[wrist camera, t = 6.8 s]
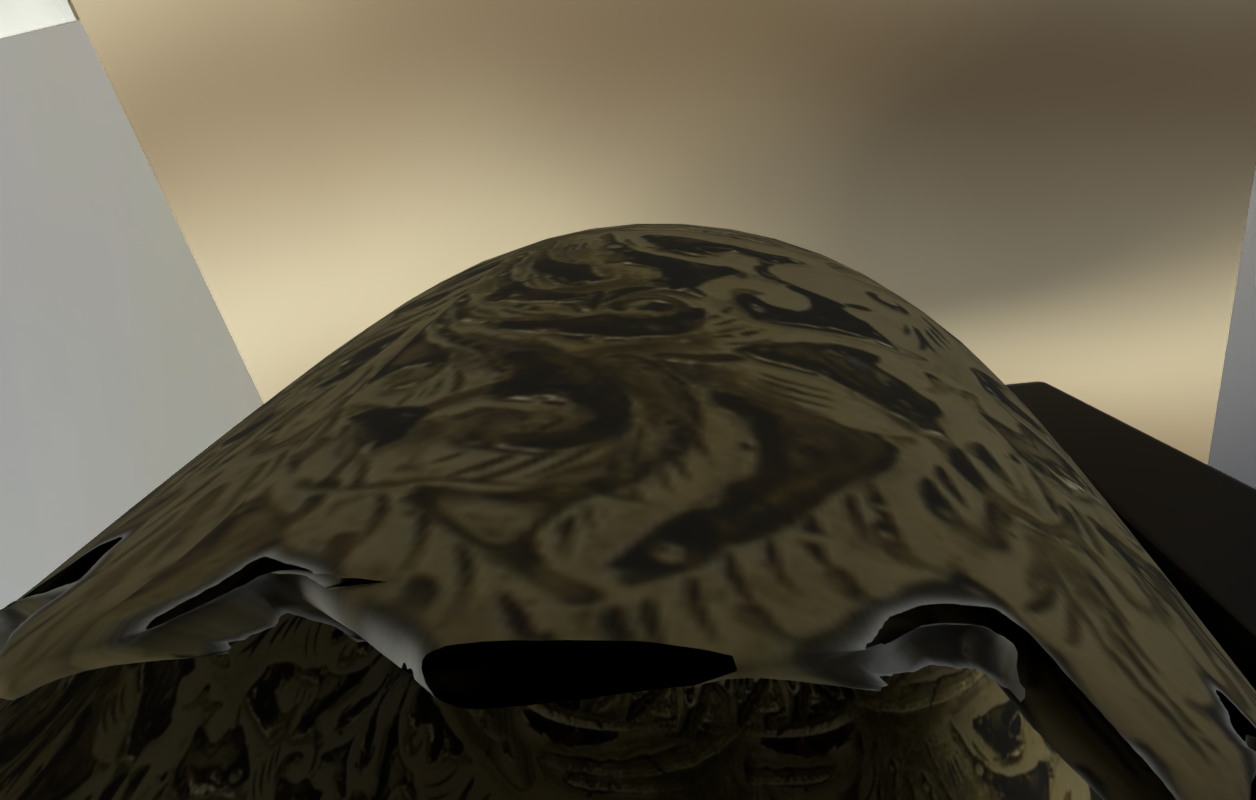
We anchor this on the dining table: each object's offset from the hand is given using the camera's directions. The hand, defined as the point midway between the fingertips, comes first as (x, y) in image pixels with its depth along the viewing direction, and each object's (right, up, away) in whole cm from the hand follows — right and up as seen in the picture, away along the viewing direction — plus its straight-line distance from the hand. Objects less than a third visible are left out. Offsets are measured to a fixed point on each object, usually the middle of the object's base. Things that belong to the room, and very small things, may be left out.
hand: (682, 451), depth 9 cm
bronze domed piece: (0, +1, +1) cm, 2 cm away
